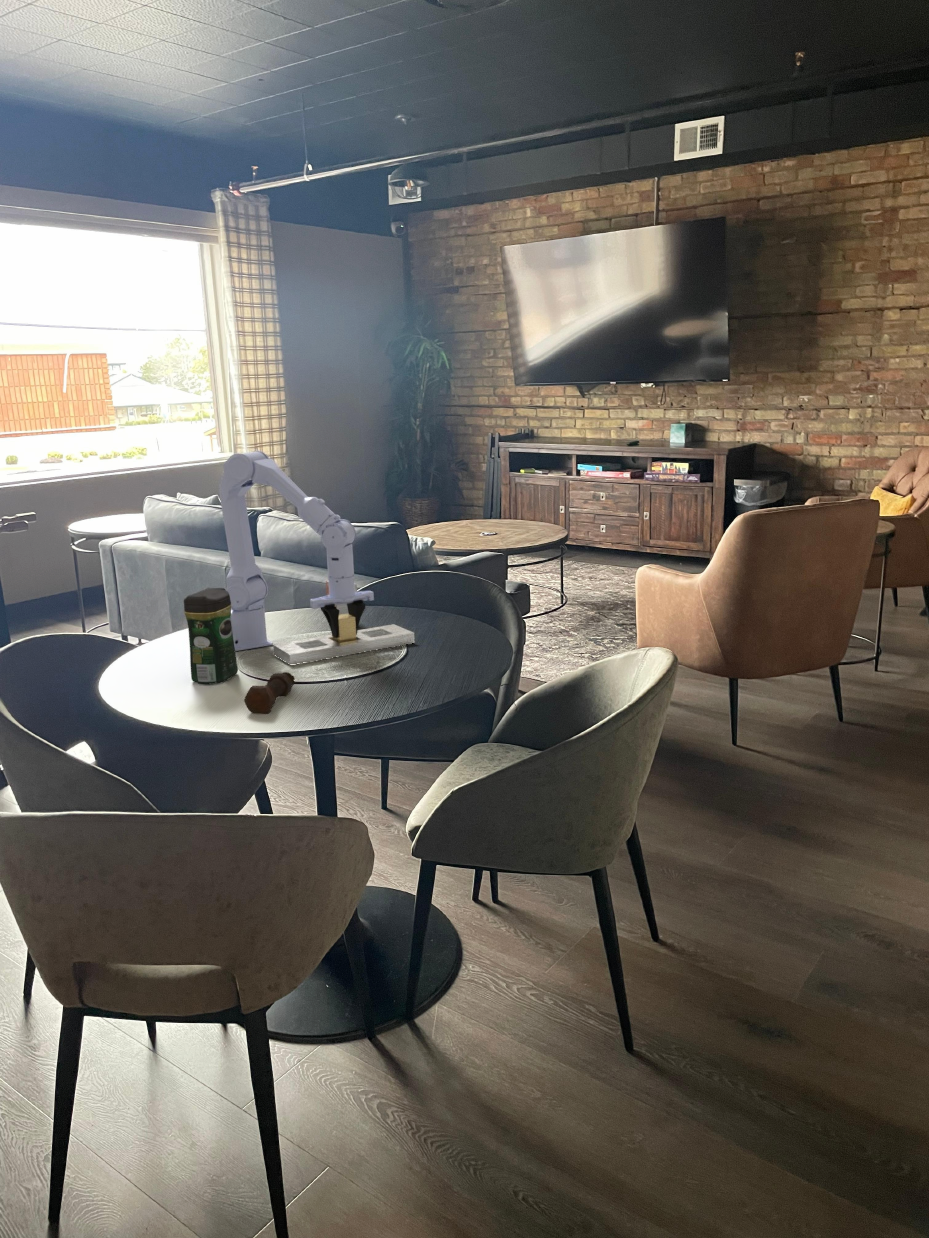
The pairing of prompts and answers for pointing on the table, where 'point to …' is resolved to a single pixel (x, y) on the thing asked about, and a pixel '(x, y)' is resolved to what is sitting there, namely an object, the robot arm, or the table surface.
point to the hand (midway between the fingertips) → (344, 635)
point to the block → (346, 628)
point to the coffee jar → (210, 636)
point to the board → (343, 644)
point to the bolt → (268, 693)
